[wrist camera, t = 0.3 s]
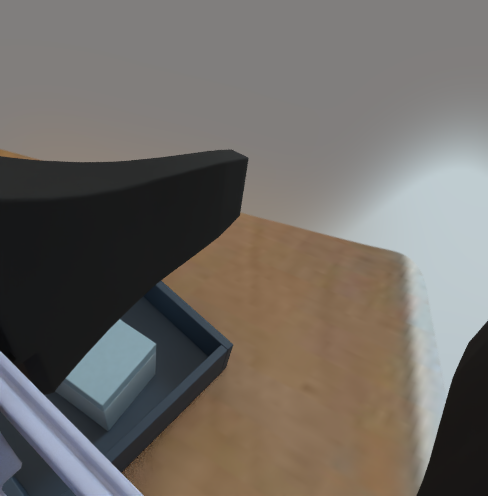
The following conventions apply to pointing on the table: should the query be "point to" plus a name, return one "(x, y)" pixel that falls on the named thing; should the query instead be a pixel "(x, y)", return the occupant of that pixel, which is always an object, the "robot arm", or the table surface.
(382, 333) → the table surface
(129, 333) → the light blue case
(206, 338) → the storage box
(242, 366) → the table surface
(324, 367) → the table surface
